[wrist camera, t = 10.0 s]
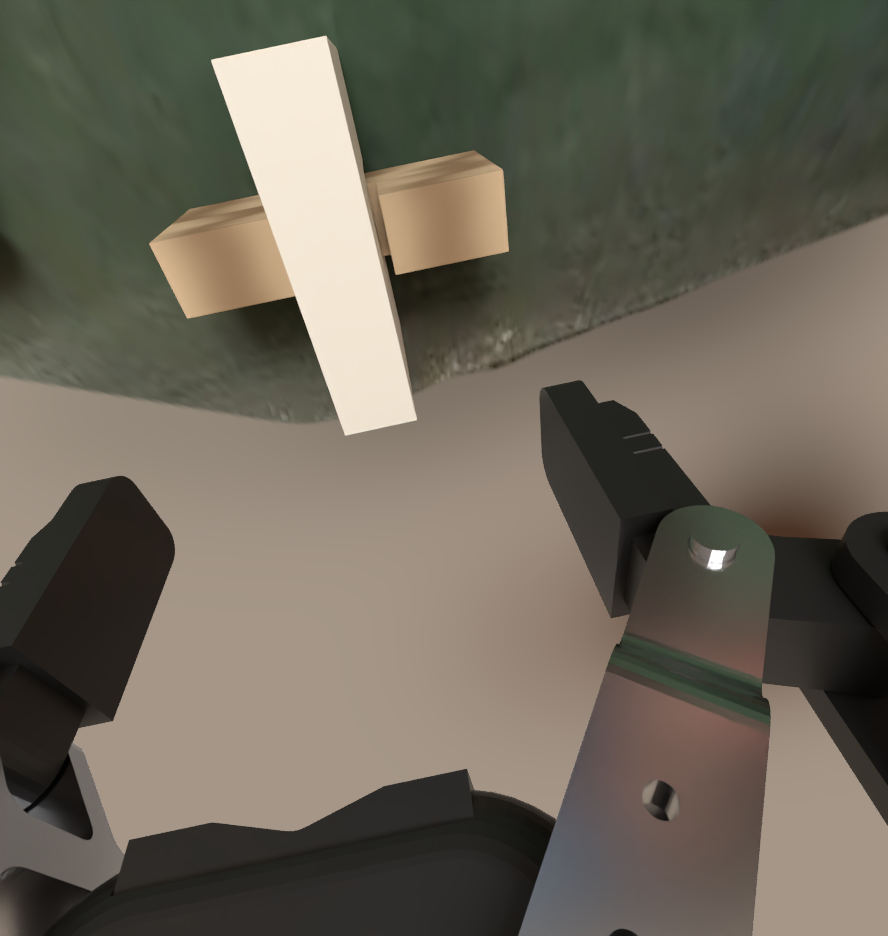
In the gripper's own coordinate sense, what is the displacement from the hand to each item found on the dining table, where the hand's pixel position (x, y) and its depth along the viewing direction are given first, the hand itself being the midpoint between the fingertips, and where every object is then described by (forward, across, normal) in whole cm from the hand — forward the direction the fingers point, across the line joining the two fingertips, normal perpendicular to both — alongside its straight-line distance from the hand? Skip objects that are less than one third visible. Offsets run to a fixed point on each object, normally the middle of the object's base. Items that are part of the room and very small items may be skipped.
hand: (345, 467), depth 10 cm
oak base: (+24, +1, 0) cm, 24 cm away
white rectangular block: (+24, +1, 0) cm, 24 cm away
